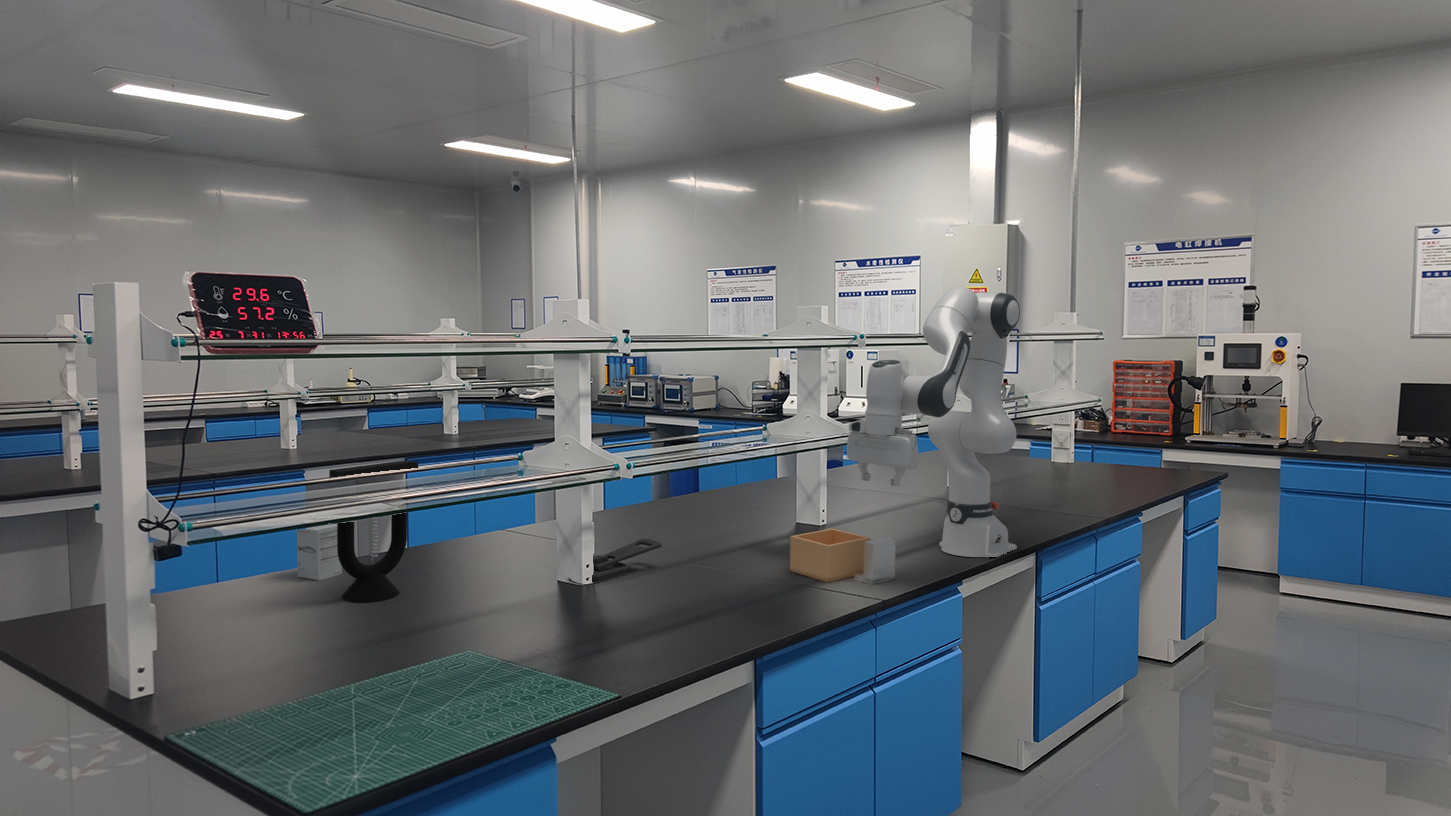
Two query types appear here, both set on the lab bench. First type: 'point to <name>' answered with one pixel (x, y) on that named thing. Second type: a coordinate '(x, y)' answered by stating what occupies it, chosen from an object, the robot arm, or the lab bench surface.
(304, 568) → the supplement box
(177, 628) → the lab bench surface
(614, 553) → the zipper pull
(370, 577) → the spring support
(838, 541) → the open box
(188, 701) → the lab bench surface
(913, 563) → the lab bench surface
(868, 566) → the aluminium bracket
